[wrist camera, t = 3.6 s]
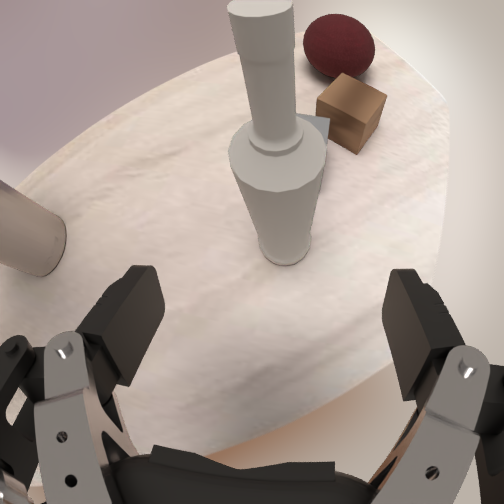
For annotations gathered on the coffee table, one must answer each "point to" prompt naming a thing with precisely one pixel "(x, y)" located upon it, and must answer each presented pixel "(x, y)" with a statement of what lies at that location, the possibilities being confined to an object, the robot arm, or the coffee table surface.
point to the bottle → (274, 133)
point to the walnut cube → (350, 111)
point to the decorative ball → (339, 45)
